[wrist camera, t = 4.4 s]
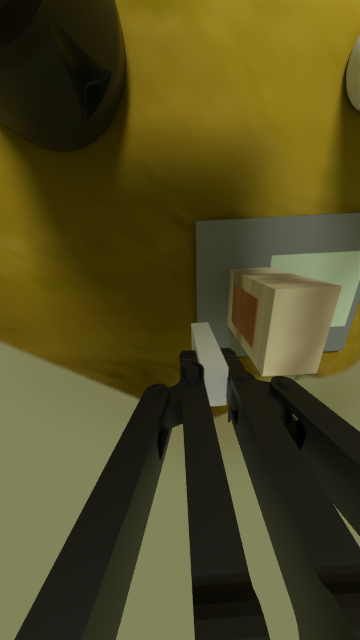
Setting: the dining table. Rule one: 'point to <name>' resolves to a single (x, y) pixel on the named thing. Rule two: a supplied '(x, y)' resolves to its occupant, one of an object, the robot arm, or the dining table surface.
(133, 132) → the dining table surface
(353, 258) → the topple mat
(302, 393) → the robot arm
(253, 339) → the maple block
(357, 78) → the milk bottle
